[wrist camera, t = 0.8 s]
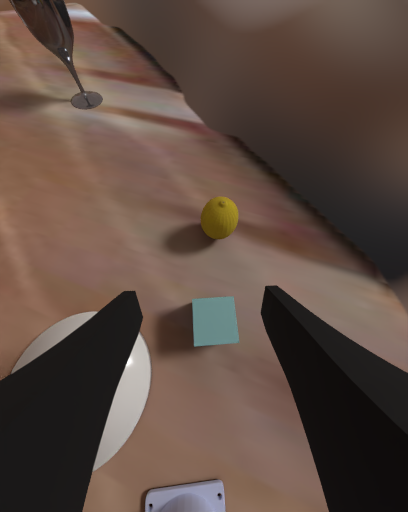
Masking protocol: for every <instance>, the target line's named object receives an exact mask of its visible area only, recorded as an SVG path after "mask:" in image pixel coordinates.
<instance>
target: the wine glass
mask: <svg viewBox="0 0 408 512" xmlns="http://www.w3.org/2000/svg"><path fill="white" fill-rule="evenodd" d="M9 1H10V3H11V5H12V6H13V8H14V10H15V11H16V13H17V14H18V15H19V17H20V18H21V20H22V21H23V23H24V24H25V25H26V27H27V28H28V29H29V31H30V32H31V33H32V35H33V36H34V37H35V38H36V39H37V40H38V41H39V42H40V43H41V44H42V45H43V46H44V47H46V48H47V49H48V50H49V51H51V52H52V53H53V54H54V55H56V56H57V57H58V58H59V59H60V60H61V61H62V62H63V63H64V64H65V65H66V67H67V68H68V69H69V71H70V73H71V74H72V76H73V78H74V79H75V81H76V83H77V85H78V87H79V89H80V91H81V92H80V93H77V94H75V95H74V96H73V97H72V99H71V103H72V105H73V106H74V107H76V108H79V109H91V108H94V107H96V106H98V105H100V104H101V102H102V100H103V98H102V96H101V95H100V94H99V93H97V92H93V91H84V89H83V87H82V85H81V83H80V81H79V78H78V76H77V73H76V71H75V68H74V65H73V58H72V54H73V44H74V33H73V28H72V24H71V21H70V17H69V14H68V11H67V8H66V5H65V2H64V0H9Z"/></svg>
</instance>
